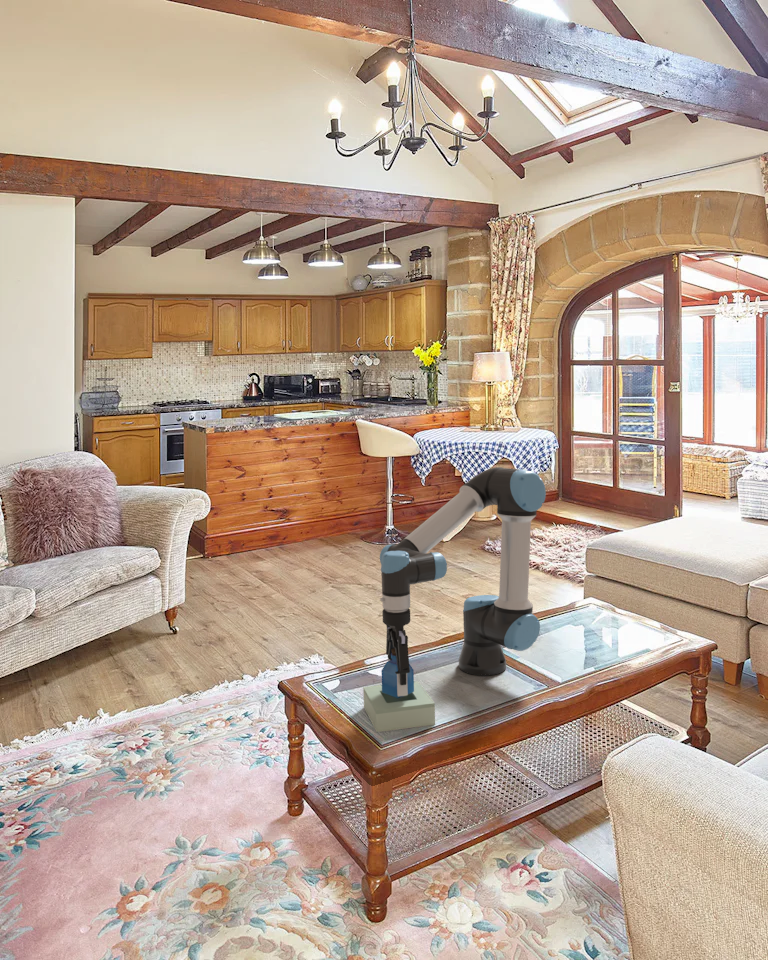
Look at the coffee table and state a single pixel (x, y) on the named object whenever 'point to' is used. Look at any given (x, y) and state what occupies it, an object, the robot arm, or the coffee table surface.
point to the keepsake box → (398, 709)
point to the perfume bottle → (395, 677)
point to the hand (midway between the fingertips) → (398, 688)
